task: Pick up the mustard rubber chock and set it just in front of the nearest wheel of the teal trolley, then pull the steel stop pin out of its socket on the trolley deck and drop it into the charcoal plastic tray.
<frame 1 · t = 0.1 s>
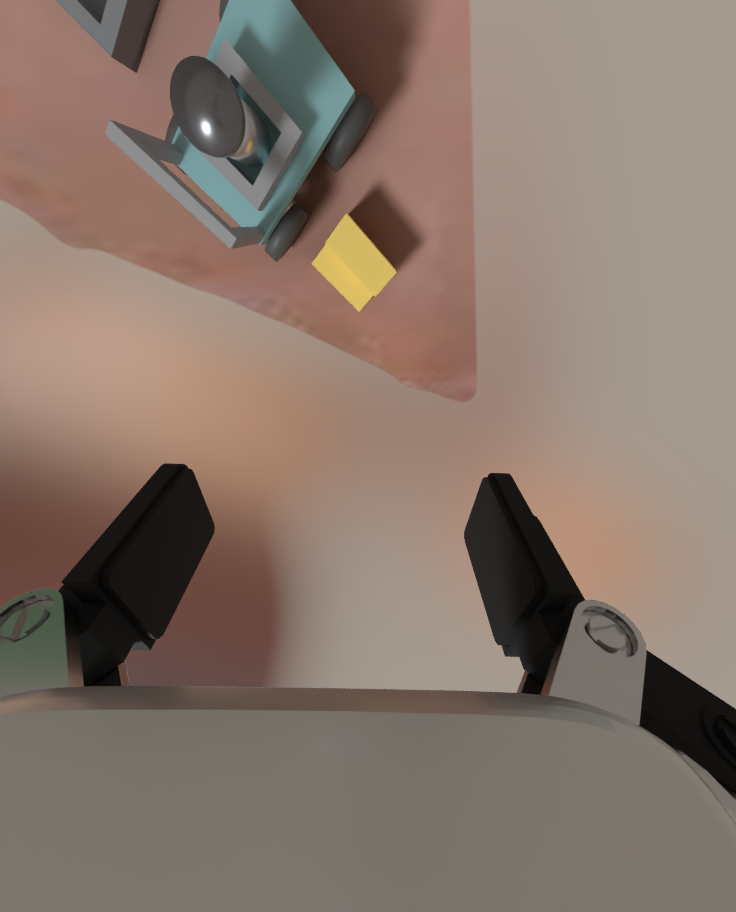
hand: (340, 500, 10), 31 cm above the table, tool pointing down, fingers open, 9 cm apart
chock: (354, 264, 33), on the table
trolley: (278, 142, 27), on the table
stop pin: (249, 138, 22), point 6 cm above the table, touching trolley
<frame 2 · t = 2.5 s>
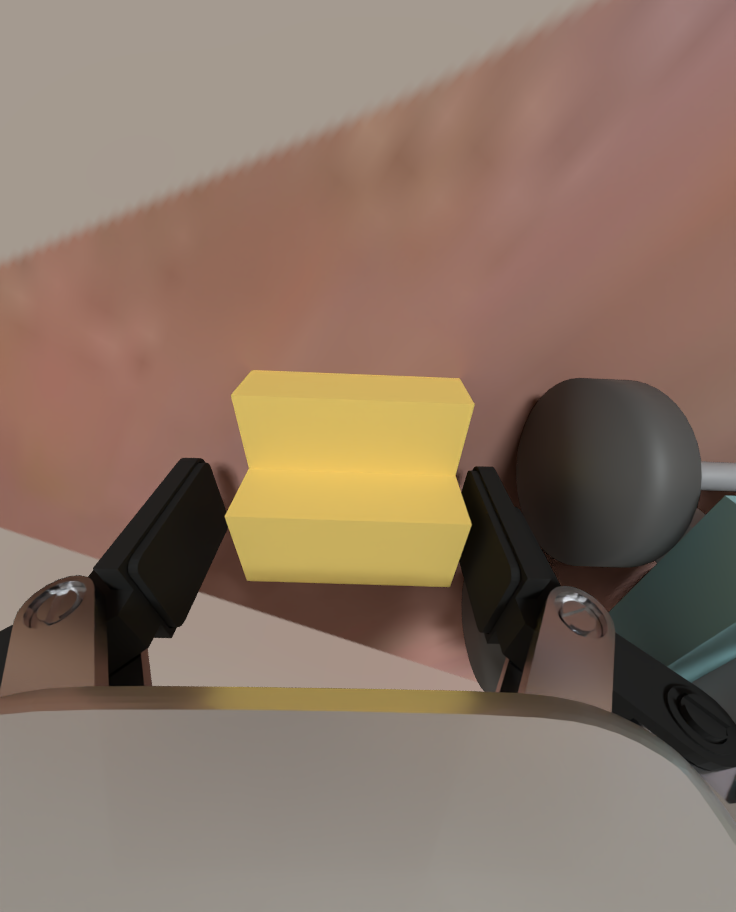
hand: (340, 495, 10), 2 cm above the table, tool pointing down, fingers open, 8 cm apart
chock: (355, 443, 11), on the table
trolley: (608, 519, 13), on the table
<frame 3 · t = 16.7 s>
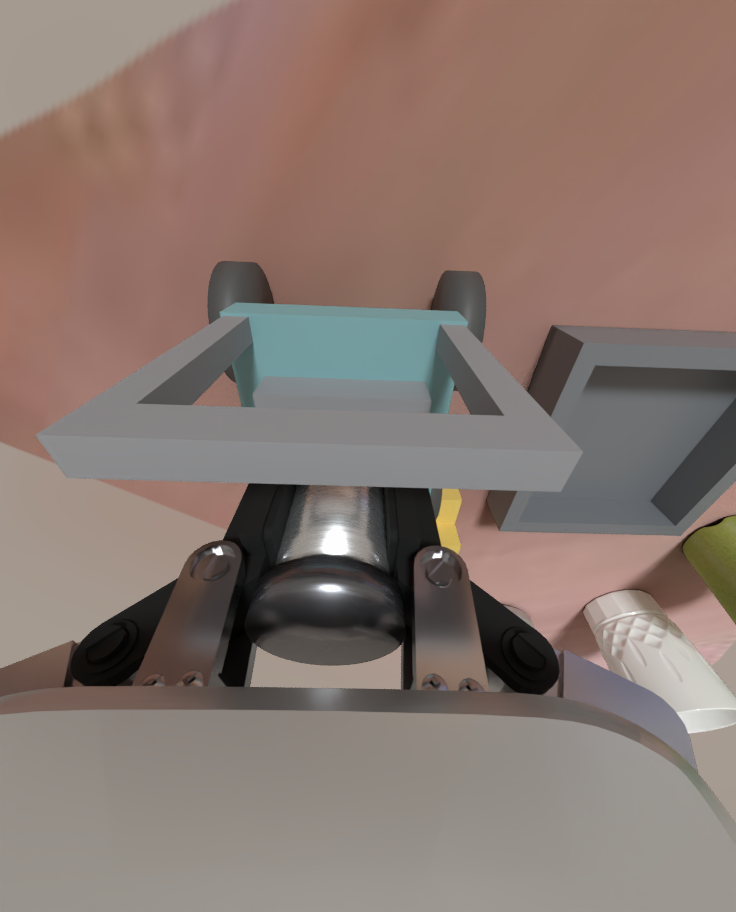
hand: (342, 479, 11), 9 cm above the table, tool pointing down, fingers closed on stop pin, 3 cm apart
chock: (408, 505, 25), on the table
trolley: (352, 396, 19), on the table
plant pot: (720, 533, 27), on the table
tray: (610, 433, 20), on the table
stop pin: (346, 444, 13), point 7 cm above the table, touching gripper, trolley
white cup: (614, 603, 34), on the table
when the fingers open (5 cm above the table, at t = 24.4 s): stop pin drops 2 cm, resting on tray.
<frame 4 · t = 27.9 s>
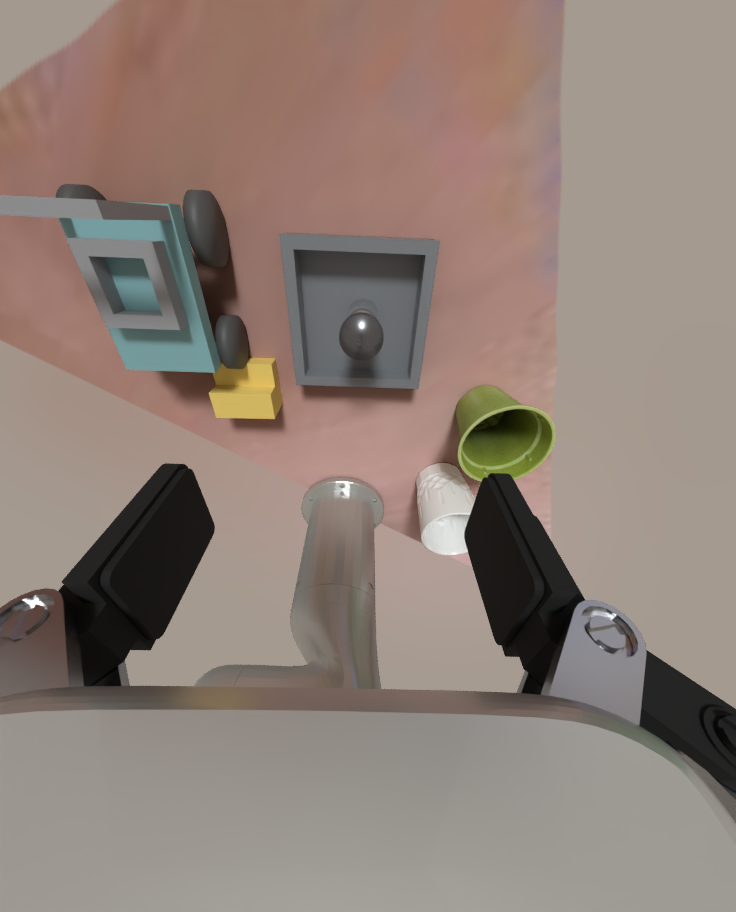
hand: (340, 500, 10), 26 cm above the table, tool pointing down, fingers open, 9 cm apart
chock: (251, 380, 36), on the table
trolley: (183, 285, 30), on the table
plant pot: (480, 406, 38), on the table
tray: (359, 314, 31), on the table
stop pin: (362, 315, 31), point 1 cm above the table, touching tray
white cup: (438, 479, 45), on the table
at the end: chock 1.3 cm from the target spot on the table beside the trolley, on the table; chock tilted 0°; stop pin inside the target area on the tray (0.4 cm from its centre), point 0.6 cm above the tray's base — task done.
